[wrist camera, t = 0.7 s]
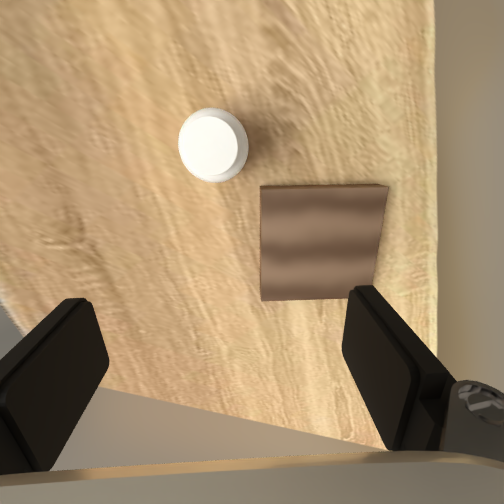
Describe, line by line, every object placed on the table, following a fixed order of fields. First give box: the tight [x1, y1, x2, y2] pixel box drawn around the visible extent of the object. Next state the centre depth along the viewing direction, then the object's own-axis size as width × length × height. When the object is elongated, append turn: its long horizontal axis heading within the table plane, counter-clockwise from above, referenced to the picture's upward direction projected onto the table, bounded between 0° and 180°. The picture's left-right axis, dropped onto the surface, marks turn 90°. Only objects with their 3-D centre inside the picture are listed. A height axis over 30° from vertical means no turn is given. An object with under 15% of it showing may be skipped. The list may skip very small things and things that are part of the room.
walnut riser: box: [260, 184, 389, 301], centre depth 38 cm, size 16×16×3 cm
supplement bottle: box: [178, 108, 249, 183], centre depth 28 cm, size 7×7×13 cm
